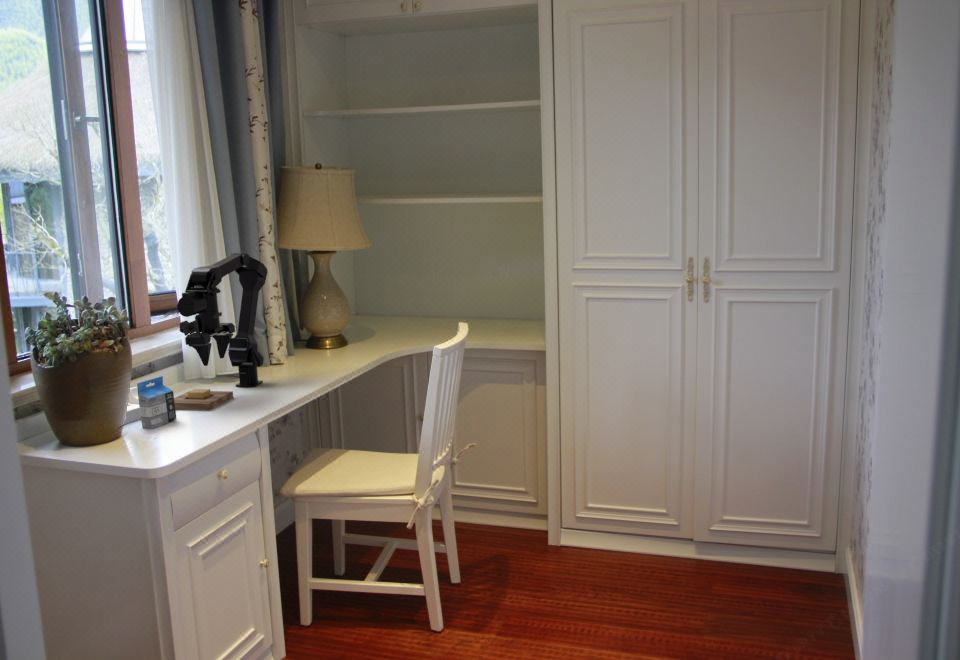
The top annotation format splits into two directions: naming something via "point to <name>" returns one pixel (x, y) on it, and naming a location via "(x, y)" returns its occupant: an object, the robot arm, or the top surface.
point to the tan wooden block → (199, 394)
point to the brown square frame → (202, 401)
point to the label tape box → (156, 403)
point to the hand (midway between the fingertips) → (213, 361)
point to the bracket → (133, 406)
